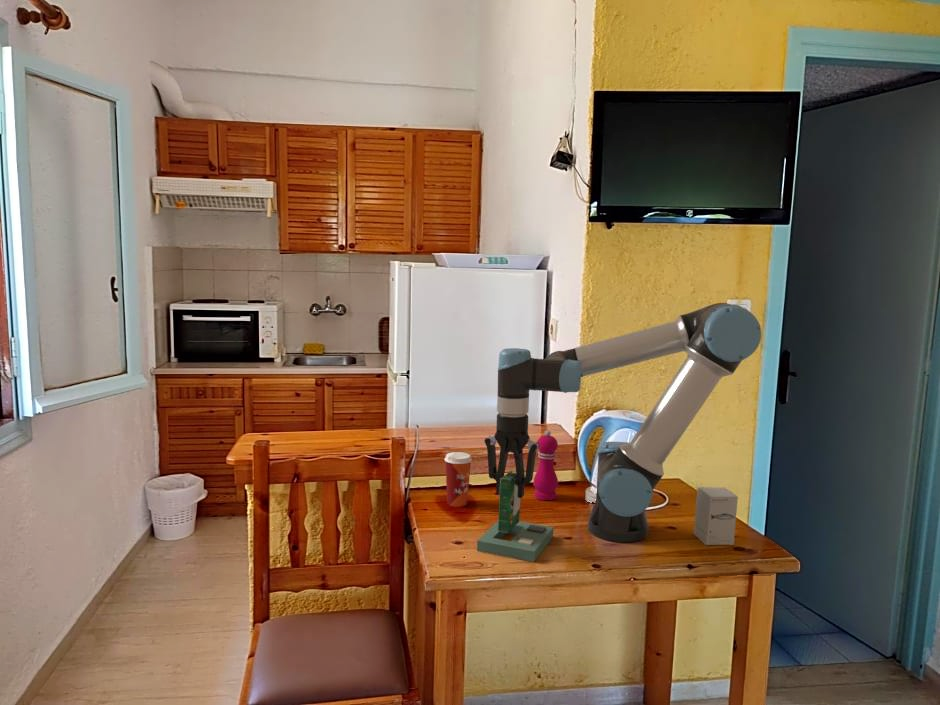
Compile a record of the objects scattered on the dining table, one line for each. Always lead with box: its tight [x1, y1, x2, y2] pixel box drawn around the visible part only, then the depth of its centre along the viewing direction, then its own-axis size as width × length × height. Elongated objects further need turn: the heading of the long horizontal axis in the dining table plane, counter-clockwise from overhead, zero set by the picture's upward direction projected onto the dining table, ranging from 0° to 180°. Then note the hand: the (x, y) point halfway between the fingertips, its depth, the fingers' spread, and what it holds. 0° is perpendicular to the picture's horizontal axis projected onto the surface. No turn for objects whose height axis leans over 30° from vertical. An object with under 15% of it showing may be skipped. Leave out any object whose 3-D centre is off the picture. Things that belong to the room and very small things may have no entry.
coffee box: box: [498, 470, 521, 534], centre depth 162 cm, size 8×3×13 cm, turn 156°
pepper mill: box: [532, 430, 559, 501], centre depth 194 cm, size 7×7×20 cm
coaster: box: [584, 486, 596, 503], centre depth 193 cm, size 10×10×4 cm
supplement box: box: [693, 486, 739, 546], centre depth 166 cm, size 7×7×13 cm
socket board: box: [476, 519, 554, 563], centre depth 162 cm, size 14×16×3 cm
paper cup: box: [444, 451, 473, 508], centre depth 188 cm, size 8×8×14 cm
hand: (509, 508), depth 162 cm, fingers closed on coffee box, 3 cm apart
